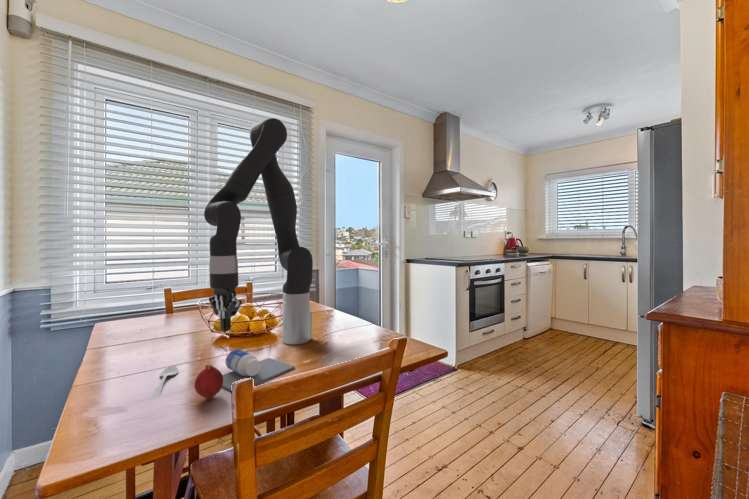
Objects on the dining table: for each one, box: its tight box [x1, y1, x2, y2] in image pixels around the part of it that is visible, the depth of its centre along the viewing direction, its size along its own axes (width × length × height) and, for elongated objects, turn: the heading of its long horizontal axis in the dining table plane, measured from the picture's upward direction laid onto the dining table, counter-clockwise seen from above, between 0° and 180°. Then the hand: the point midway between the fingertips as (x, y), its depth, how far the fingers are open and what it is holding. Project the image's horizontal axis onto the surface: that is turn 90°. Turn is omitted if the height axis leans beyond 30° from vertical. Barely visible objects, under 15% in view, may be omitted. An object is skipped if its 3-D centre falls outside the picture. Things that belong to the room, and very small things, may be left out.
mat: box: [221, 357, 296, 393], centre depth 86 cm, size 18×11×1 cm, turn 146°
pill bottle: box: [225, 348, 261, 376], centre depth 86 cm, size 6×5×10 cm
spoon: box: [149, 365, 179, 401], centre depth 80 cm, size 4×21×2 cm, turn 19°
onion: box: [194, 363, 224, 400], centre depth 73 cm, size 6×6×8 cm
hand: (225, 330), depth 95 cm, fingers closed
